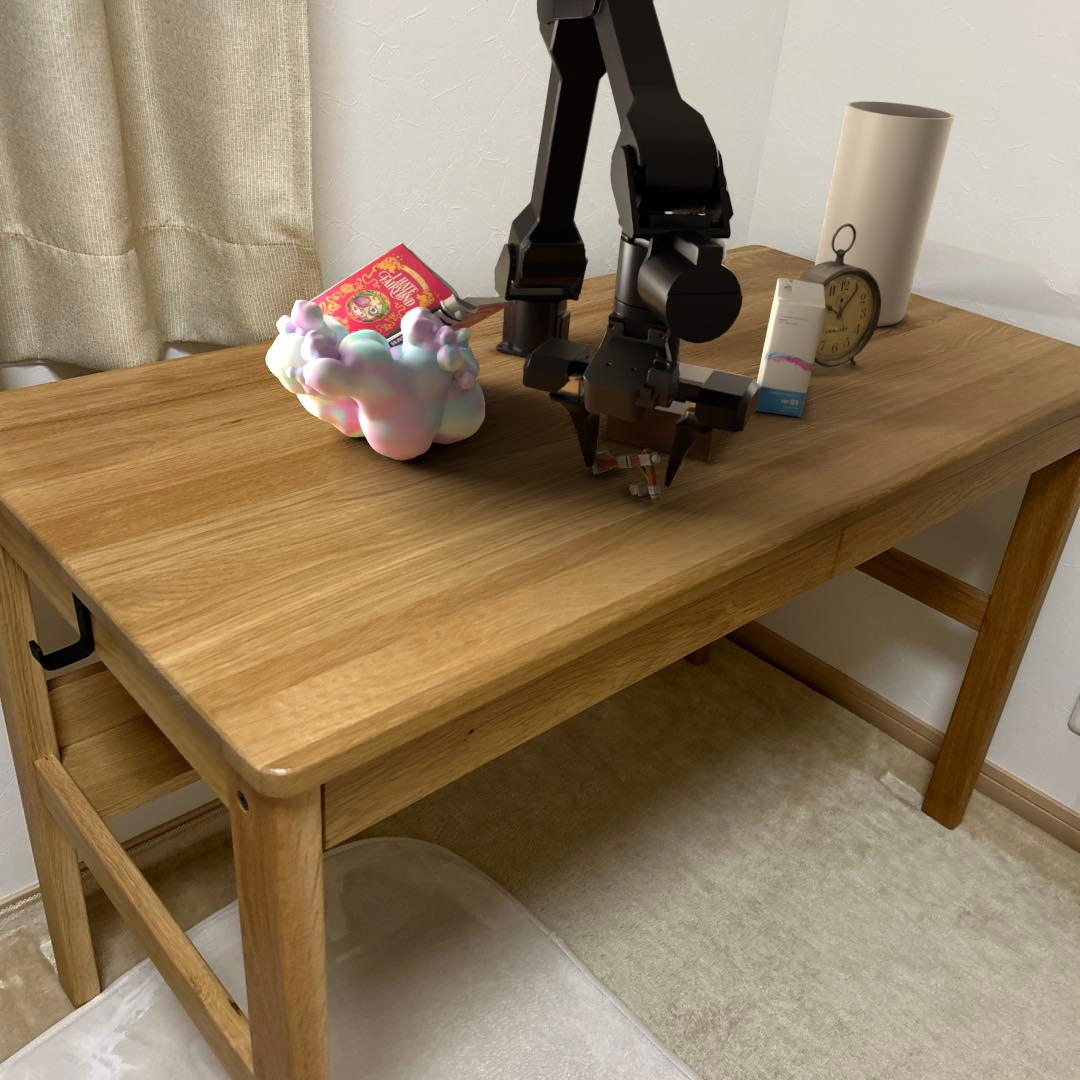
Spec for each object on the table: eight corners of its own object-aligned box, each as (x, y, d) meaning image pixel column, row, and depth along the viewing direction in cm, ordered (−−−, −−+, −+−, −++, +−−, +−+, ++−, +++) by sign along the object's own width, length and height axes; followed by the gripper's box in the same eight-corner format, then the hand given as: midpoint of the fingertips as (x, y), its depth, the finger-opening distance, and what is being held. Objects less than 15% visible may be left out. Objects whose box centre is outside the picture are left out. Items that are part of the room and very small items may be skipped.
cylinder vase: (841, 292, 148) (882, 99, 136) (921, 317, 141) (973, 115, 128) (787, 307, 141) (826, 103, 128) (869, 334, 133) (919, 121, 121)
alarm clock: (794, 382, 117) (824, 233, 109) (764, 365, 121) (790, 219, 113) (869, 371, 122) (904, 227, 114) (838, 354, 126) (869, 214, 118)
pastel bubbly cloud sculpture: (261, 438, 85) (375, 244, 80) (221, 335, 102) (314, 169, 97) (462, 523, 97) (573, 358, 92) (397, 418, 113) (488, 274, 109)
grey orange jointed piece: (657, 504, 88) (648, 450, 87) (598, 502, 95) (589, 451, 94) (673, 499, 89) (665, 446, 88) (614, 497, 96) (605, 447, 95)
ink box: (803, 419, 108) (827, 305, 102) (753, 412, 109) (774, 298, 103) (802, 388, 116) (824, 280, 110) (756, 382, 116) (775, 274, 110)
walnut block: (604, 438, 101) (609, 398, 99) (645, 392, 112) (650, 355, 110) (707, 461, 98) (714, 421, 96) (739, 412, 109) (745, 375, 107)
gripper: (500, 304, 81) (491, 489, 88) (744, 352, 75) (711, 544, 83) (554, 269, 90) (541, 439, 97) (775, 309, 84) (742, 486, 92)
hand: (628, 475), depth 92 cm, fingers open, 7 cm apart
